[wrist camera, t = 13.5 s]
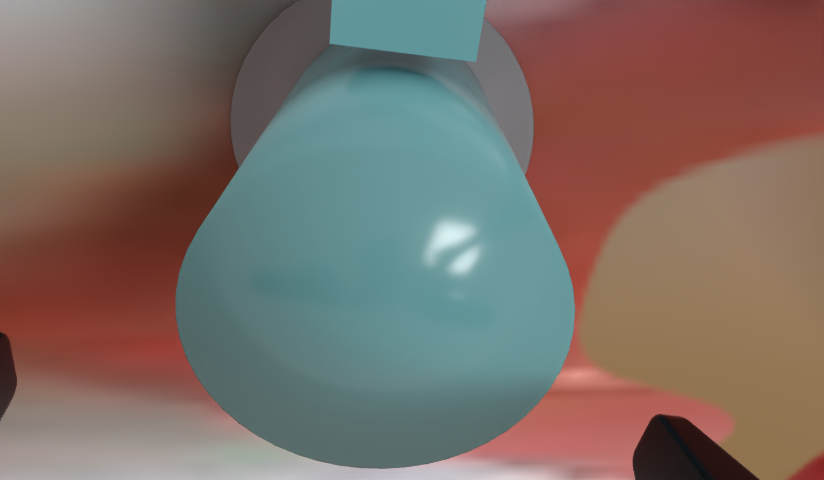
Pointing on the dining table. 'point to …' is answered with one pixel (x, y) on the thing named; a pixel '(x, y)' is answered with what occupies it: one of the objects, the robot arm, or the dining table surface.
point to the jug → (379, 256)
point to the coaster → (310, 34)
